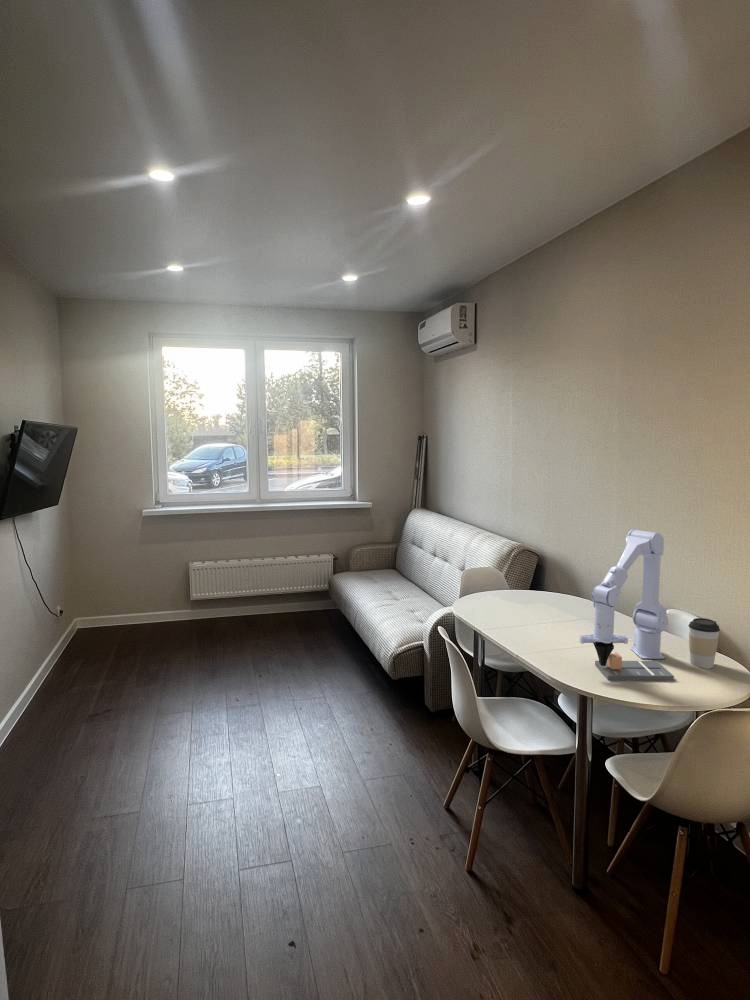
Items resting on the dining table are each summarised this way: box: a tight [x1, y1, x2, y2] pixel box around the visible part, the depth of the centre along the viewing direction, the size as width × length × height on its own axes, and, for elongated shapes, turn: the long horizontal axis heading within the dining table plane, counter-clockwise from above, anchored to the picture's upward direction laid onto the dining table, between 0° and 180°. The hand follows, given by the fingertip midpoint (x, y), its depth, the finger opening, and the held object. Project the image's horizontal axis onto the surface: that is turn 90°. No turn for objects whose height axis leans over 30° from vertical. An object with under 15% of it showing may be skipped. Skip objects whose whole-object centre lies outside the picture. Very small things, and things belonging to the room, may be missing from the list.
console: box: [594, 660, 675, 682], centre depth 191 cm, size 12×20×2 cm, turn 88°
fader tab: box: [607, 651, 623, 669], centre depth 190 cm, size 4×3×4 cm
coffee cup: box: [688, 617, 721, 669], centre depth 196 cm, size 9×9×15 cm
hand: (602, 664), depth 191 cm, fingers closed
